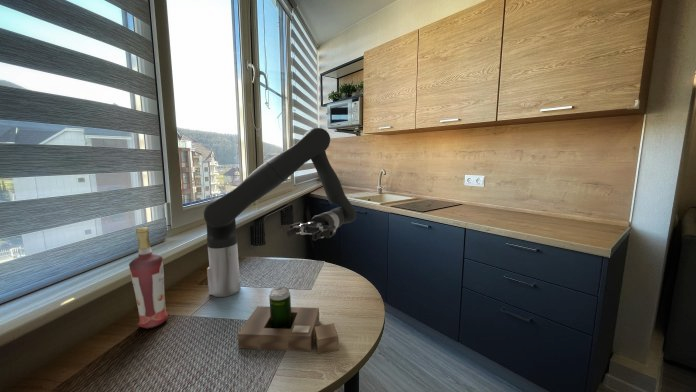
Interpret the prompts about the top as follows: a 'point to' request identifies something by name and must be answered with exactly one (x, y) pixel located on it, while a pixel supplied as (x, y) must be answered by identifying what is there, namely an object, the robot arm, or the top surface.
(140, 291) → the liquor
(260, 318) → the socket block
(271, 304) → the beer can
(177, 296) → the top surface
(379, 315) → the top surface
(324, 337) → the walnut block
